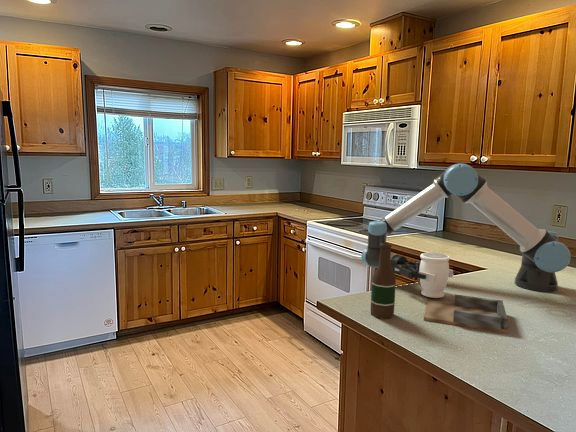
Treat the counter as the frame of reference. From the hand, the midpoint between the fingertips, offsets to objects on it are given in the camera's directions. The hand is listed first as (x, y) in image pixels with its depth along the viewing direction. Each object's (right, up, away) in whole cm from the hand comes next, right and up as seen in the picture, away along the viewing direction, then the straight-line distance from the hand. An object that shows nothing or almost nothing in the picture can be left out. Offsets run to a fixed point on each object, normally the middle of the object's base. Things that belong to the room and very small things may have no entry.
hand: (443, 276), depth 153 cm
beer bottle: (-26, -11, -14) cm, 31 cm away
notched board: (+1, -11, -15) cm, 19 cm away
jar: (-3, -8, +4) cm, 9 cm away
